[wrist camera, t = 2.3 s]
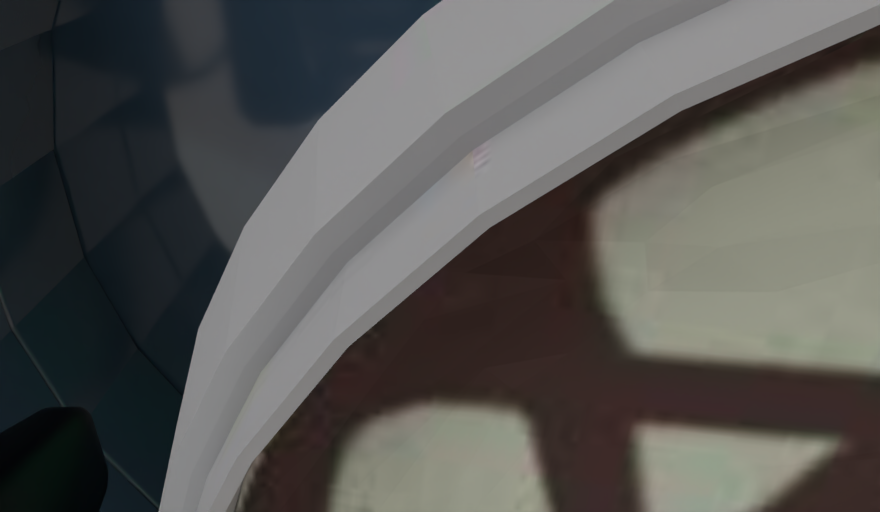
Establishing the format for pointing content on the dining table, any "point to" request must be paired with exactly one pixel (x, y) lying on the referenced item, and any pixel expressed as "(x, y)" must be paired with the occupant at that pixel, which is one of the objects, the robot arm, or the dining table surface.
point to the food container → (562, 274)
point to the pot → (147, 189)
